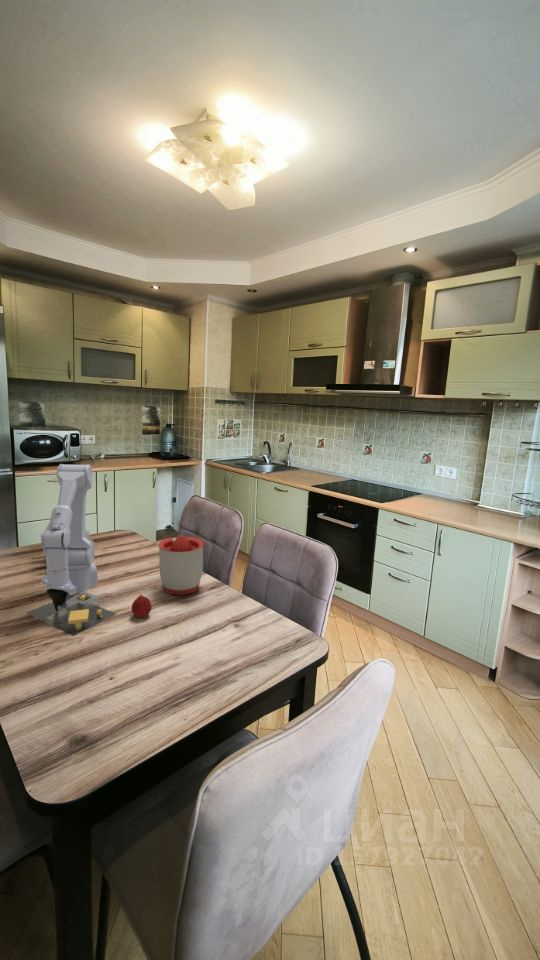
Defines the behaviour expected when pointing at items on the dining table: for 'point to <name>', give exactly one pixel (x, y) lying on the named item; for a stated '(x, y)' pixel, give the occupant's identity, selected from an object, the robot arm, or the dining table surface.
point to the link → (73, 607)
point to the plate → (49, 610)
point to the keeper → (78, 618)
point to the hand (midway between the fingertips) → (59, 610)
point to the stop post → (99, 613)
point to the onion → (141, 606)
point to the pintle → (82, 597)
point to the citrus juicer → (181, 564)
